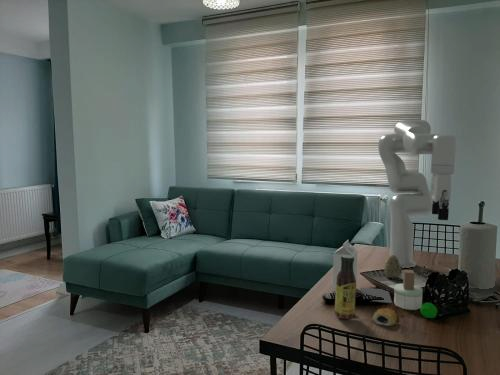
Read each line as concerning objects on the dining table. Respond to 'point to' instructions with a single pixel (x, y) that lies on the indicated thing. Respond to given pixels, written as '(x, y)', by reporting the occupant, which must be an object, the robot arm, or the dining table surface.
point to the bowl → (407, 302)
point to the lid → (408, 286)
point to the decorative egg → (392, 267)
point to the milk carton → (344, 250)
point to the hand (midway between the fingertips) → (439, 216)
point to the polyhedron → (428, 310)
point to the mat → (377, 294)
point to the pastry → (385, 317)
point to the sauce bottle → (345, 289)
